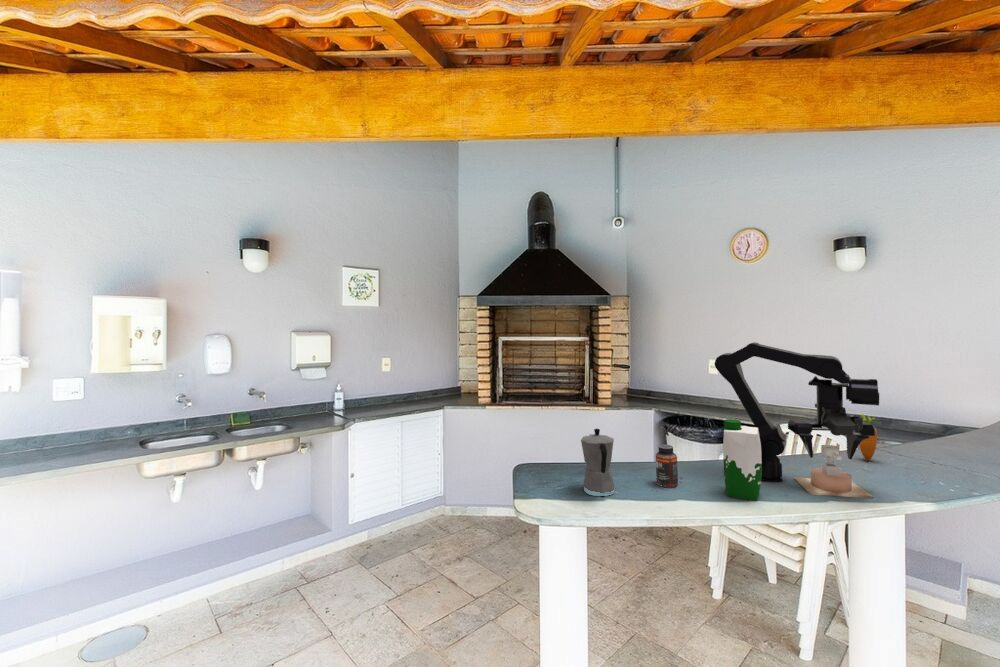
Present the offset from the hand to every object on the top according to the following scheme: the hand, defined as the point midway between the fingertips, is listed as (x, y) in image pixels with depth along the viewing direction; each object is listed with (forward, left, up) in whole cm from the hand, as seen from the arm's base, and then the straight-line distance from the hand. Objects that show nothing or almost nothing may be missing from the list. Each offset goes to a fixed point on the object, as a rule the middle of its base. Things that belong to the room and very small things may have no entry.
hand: (830, 458), depth 119 cm
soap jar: (0, 0, -8) cm, 8 cm away
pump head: (0, -1, -2) cm, 2 cm away
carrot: (+21, +26, -9) cm, 35 cm away
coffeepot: (-62, -13, -9) cm, 64 cm away
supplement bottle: (-43, -4, -9) cm, 44 cm away
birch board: (0, 0, -8) cm, 8 cm away
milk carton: (-24, -8, -9) cm, 27 cm away
